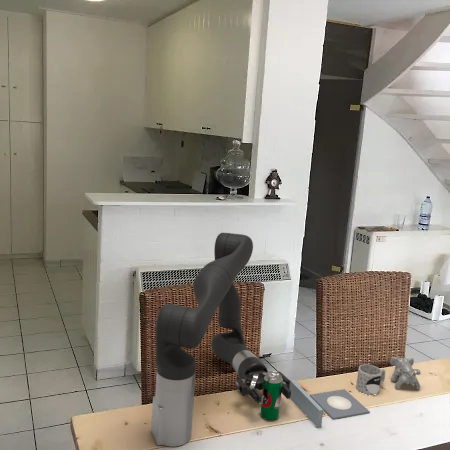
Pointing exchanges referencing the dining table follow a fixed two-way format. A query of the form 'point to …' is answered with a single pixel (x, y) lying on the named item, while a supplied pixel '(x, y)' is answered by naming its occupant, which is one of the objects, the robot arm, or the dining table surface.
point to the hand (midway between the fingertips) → (274, 397)
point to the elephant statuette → (404, 372)
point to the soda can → (271, 395)
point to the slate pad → (339, 404)
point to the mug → (369, 379)
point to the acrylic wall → (306, 403)
